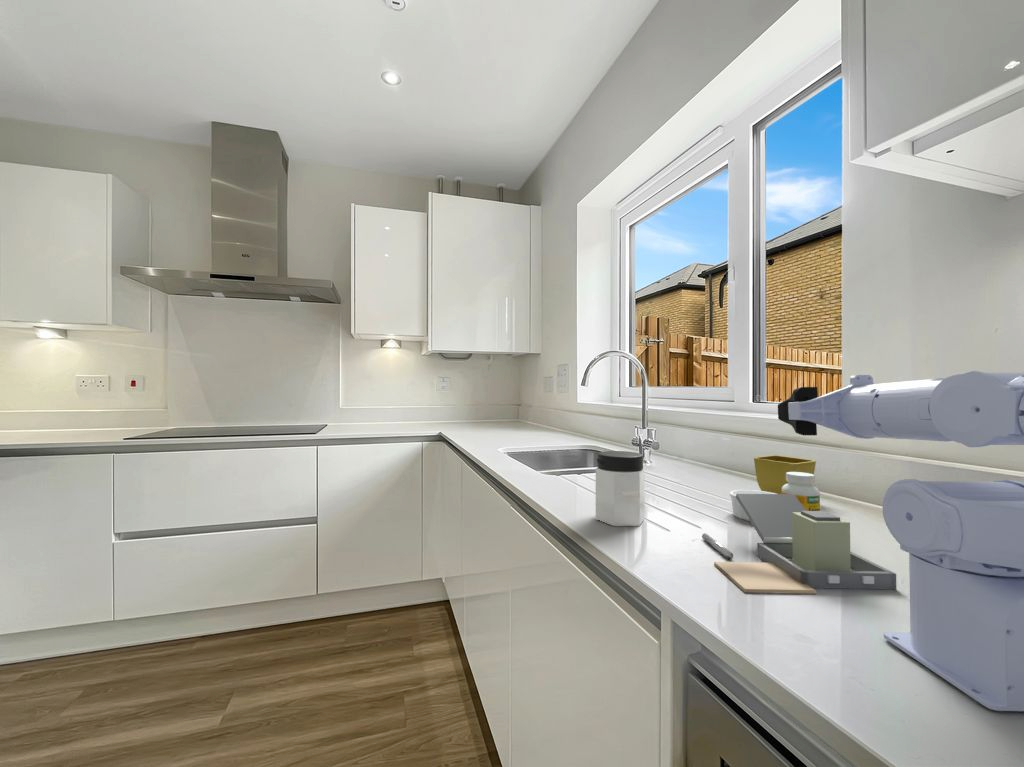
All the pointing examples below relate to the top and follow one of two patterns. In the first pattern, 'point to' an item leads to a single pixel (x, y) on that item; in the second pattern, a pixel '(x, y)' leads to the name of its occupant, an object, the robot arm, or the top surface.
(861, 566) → the case
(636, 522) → the jar
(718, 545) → the rod
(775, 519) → the lid
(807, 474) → the supplement bottle
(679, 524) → the top surface
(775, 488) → the flower pot
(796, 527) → the block
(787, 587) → the mat
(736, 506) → the ramekin
